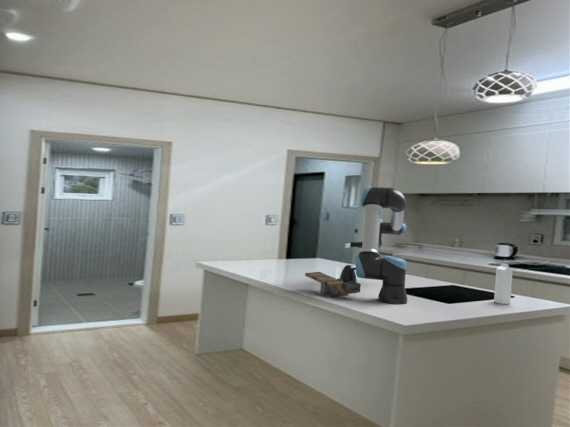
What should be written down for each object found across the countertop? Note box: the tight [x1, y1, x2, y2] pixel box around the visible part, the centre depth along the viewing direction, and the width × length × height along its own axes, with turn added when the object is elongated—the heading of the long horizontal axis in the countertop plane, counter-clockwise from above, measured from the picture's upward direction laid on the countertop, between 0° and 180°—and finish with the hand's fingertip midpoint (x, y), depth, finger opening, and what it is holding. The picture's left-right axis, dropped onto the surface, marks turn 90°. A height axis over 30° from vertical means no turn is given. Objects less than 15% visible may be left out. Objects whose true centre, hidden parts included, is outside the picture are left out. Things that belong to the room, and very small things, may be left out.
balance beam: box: [304, 271, 362, 295], centre depth 259 cm, size 30×12×4 cm, turn 45°
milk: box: [493, 262, 514, 305], centre depth 265 cm, size 6×6×22 cm
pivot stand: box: [313, 278, 349, 299], centre depth 260 cm, size 12×15×8 cm
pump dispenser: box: [339, 264, 358, 283], centre depth 273 cm, size 10×10×15 cm
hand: (355, 247), depth 280 cm, fingers open, 13 cm apart
